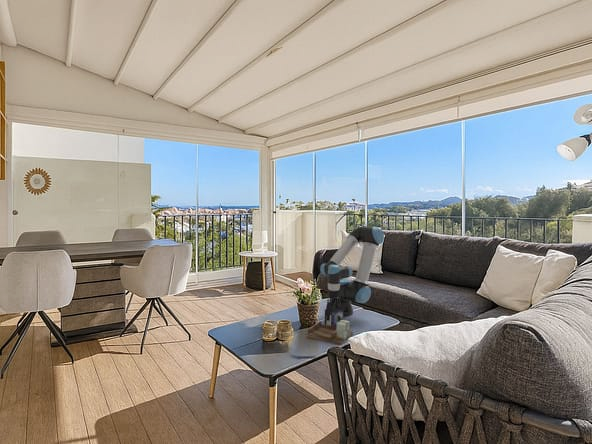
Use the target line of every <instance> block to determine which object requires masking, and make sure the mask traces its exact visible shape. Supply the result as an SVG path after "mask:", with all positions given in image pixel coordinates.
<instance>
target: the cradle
mask: <svg viewBox="0 0 592 444" xmlns="http://www.w3.org/2000/svg"><path fill="white" fill-rule="evenodd" d="M353 335H354V331H351V330H350V321H349V320H344V319H343V320H341V321H339V322H338V323H337V327H334V326H328V325H324V324H322V321H318V322H316V323H315V324H314V325H312V326H310V327H308V328H307V334H306V338H307V339H308V338H309V339H313V340H317V341H322V342H327V343H333V344H338V345H343V344H344V343H345V342H346V341H347V340H348V339H349V338H351V337H352V336H353Z"/></svg>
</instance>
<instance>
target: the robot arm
mask: <svg viewBox="0 0 592 444" xmlns="http://www.w3.org/2000/svg"><path fill="white" fill-rule="evenodd" d="M384 241H385V235H384V230H383V229H382V228H380V227H377V226H363V225H362V226H358V227H355V229H353V230H352V231H350V232H349V233H348V234H347V236H346V239H345V241H343V243H342V245H340V246H339V248H338V249H337V251H336V252H335V253H334V254H333V256H332V257H331V258H330V259H329V261H328V262H327V263H322V264H320V268H319V270H320V273H321V274H322V275H324V276H327V279H328V280H327V289H328V290H327V296H328V297H329V298H327V302H326V307H325V310H326V311H325V310H324V316H325V315H327V325H329V326H331V315H330V314H331V311H332V309H334V308H340V309H341V310H343V317H344V316H346V317H347V316H350V315H353V314H354V307H353V304H352V302H356V303H359V304H365V303H367V301H369V299H370V298H371V295H372V290H371V289H372V288H370V284H369V277H370V275H371V274H370V273H371V270H372V269H371V268H372V265H373V262H374V257H375V254H376V249H378V248H379V245H382V243H384ZM360 243H361V244H362V245H363V248H362V251H361V256H360V259H359V264H358V268H357V271H356V275H355V278H354V279H352V281H351V280H350V279H348V278H351V277H352V275H353V268H352V267H351V266H349V265H344V266H342V265H341V264H342V263H343V262H344V260H345V259H346V258H347V256H348V255H349V254H350V252H352V250H353V249H354V247H356V246H358V245H359V244H360Z"/></svg>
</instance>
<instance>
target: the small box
mask: <svg viewBox="0 0 592 444" xmlns="http://www.w3.org/2000/svg"><path fill="white" fill-rule="evenodd" d="M325 311H326V309H324V312H325ZM330 315H331V326H334V327H337V323H338V322H339V321H341V320H344V316H343V310H341V309H340V308H334V309H332V311H331V314H330ZM323 325H327V315H325V314H324V324H323ZM328 326H329V325H328Z"/></svg>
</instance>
